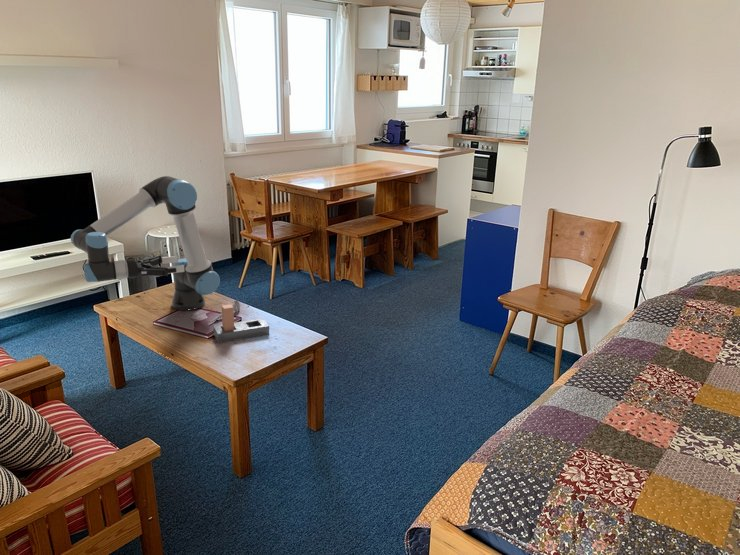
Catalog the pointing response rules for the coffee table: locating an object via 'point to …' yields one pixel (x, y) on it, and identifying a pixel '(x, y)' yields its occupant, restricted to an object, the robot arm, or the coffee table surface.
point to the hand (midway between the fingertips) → (181, 263)
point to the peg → (228, 317)
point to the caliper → (234, 310)
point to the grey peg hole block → (242, 330)
